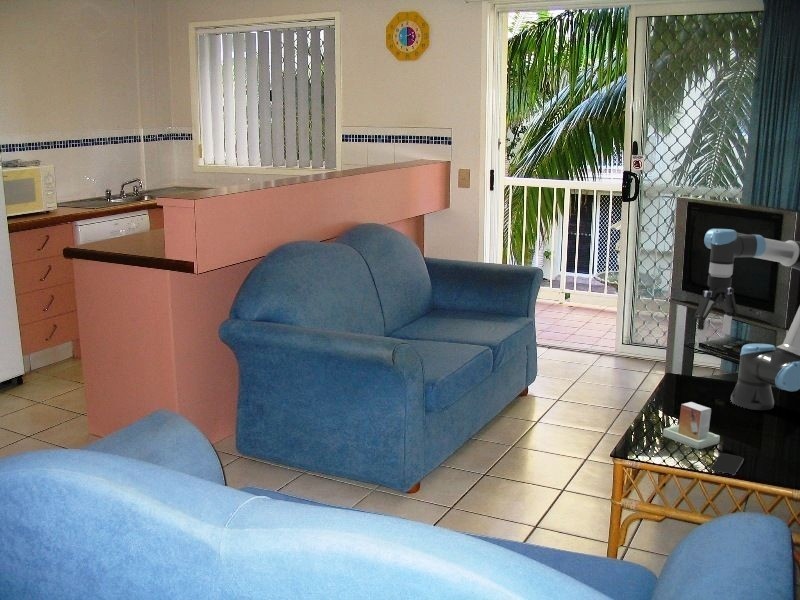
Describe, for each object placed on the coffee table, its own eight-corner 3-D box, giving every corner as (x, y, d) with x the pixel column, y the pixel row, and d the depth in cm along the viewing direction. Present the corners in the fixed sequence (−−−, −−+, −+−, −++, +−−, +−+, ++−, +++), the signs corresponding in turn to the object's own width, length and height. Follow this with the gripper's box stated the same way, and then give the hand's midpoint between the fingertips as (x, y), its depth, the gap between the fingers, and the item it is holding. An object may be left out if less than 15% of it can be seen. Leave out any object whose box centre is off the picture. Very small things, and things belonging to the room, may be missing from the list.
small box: (677, 433, 290) (680, 403, 288) (688, 430, 293) (691, 401, 291) (697, 441, 284) (700, 410, 281) (708, 438, 287) (711, 408, 285)
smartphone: (709, 469, 263) (720, 452, 276) (709, 472, 263) (720, 455, 276) (734, 475, 259) (744, 457, 272) (734, 478, 260) (744, 460, 272)
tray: (684, 429, 297) (684, 423, 296) (719, 443, 286) (719, 435, 285) (662, 435, 291) (663, 428, 290) (697, 449, 279) (698, 442, 279)
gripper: (733, 270, 302) (726, 329, 306) (687, 276, 288) (681, 338, 292) (752, 274, 296) (745, 334, 300) (706, 280, 282) (699, 343, 286)
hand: (713, 336), depth 296 cm, fingers open, 13 cm apart
